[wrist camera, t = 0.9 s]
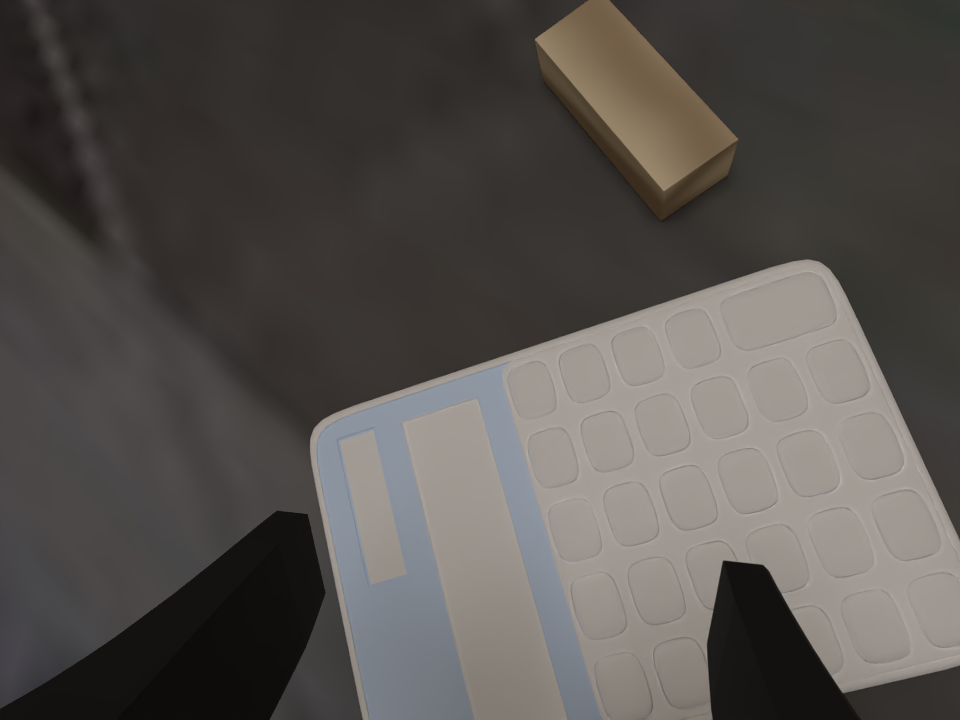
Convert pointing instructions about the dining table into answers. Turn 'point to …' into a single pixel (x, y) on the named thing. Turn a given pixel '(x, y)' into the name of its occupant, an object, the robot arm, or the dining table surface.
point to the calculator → (635, 512)
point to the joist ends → (635, 107)
